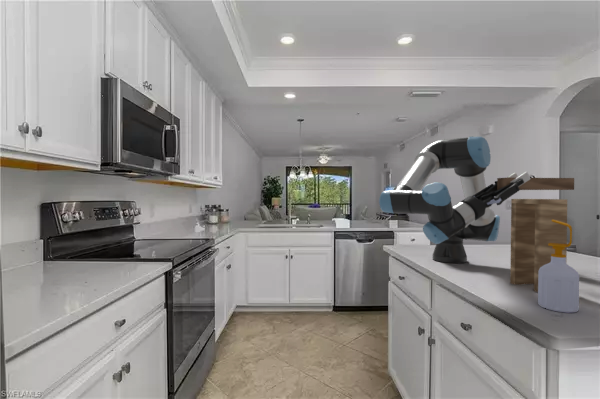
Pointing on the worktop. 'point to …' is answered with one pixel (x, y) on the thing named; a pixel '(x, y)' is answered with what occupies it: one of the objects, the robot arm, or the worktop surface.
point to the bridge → (535, 236)
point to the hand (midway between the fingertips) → (522, 175)
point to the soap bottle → (558, 281)
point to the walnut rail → (540, 183)
